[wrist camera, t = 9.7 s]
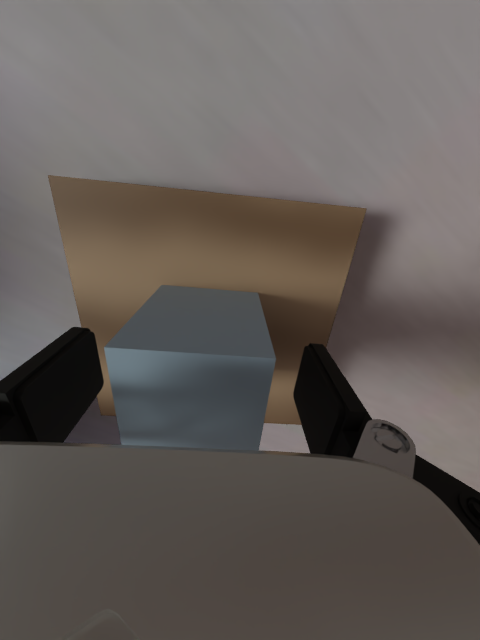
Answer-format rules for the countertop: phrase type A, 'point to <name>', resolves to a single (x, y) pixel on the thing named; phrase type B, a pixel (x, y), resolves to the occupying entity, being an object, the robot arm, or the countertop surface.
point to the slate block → (192, 370)
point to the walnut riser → (206, 262)
